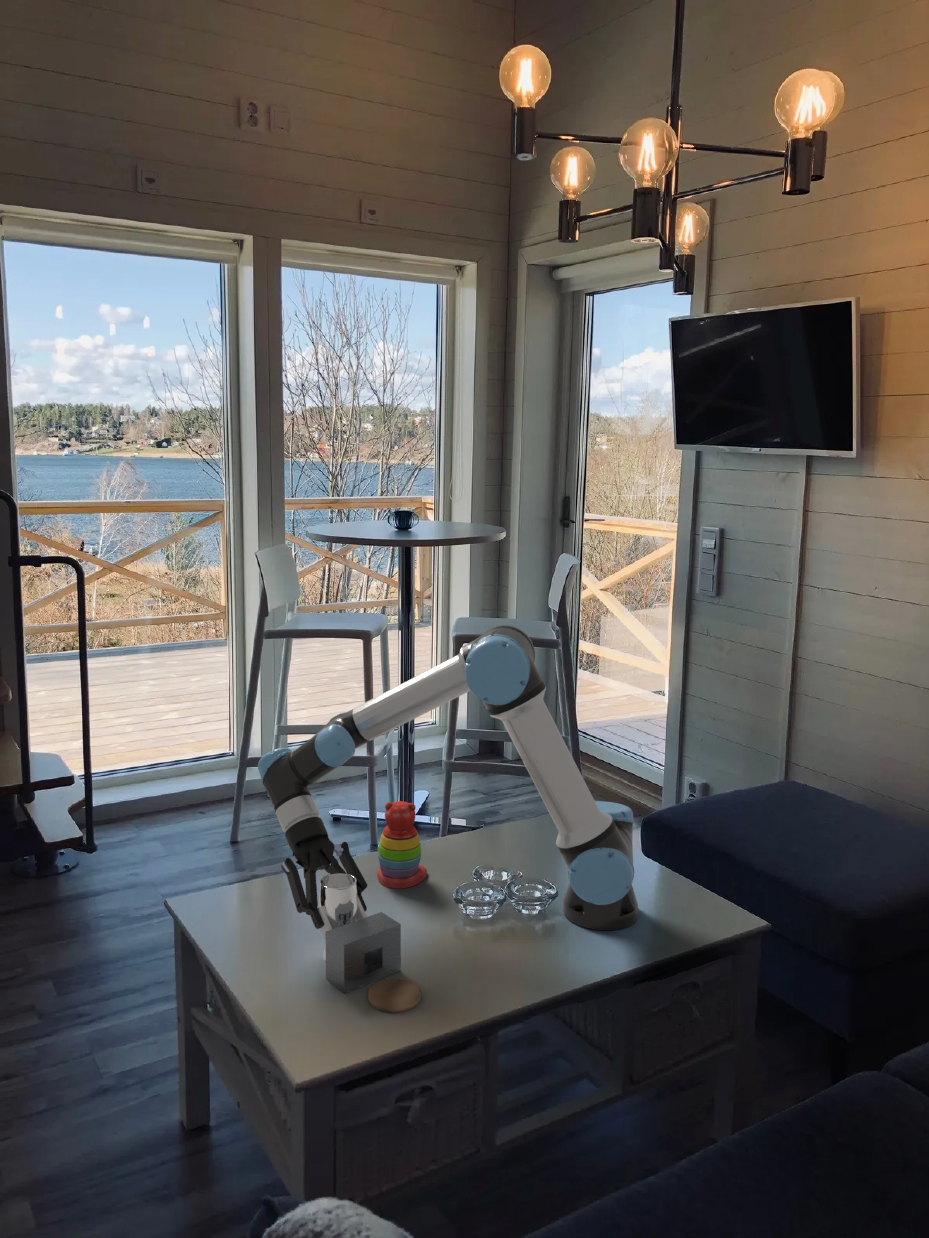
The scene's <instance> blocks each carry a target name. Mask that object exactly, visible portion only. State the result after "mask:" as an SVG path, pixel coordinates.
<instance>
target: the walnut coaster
mask: <svg viewBox="0 0 929 1238" xmlns="http://www.w3.org/2000/svg"><path fill="white" fill-rule="evenodd" d="M421 992H422V991H421V988H420V986H419V985H418V984H417V983H415V982H414V981H412V980H409V979H406V978H397V977H395V978H386V979H382V980H379V981H377V982H375V983H373V985H371V986H370V987H369V989H368V992H367V993H368V995H367V997H368V998H367V999H368V1003H369V1004H370V1006H371V1007H372V1008H374V1009H376V1010H377V1011H380V1012H385V1013H391V1014H392V1013H393V1014H396V1013H402V1012H407V1011H410V1010H412V1009H413V1008H415V1007H416V1006H418V1005H419V1004H420V1001H421V1000H422V999H421V998H422V993H421Z"/></svg>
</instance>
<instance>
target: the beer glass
mask: <svg viewBox="0 0 929 1238" xmlns="http://www.w3.org/2000/svg"><path fill="white" fill-rule="evenodd" d="M356 881H357V880H356V878H355V877H354V876H352V875H350V874H345V873H335V874H330V873H329V874H328V875H326V876H325V875H324V876H323V877H322V878H321V879H320V885H319V887H320V888H319V907H321V906H322V907H323V909H324V911H325V913H326V915H327V918H328V920H329V923H330V925H331V927H332V929H335V928H337V927H340V926H343V925H346V924H349V923H351V922H354V921H356V917H357V909H358V894H357V883H356ZM322 959H323V961H324V963H326V942H325V941H324V946H323V950H322Z"/></svg>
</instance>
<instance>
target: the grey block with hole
mask: <svg viewBox="0 0 929 1238" xmlns="http://www.w3.org/2000/svg"><path fill="white" fill-rule="evenodd" d="M401 928H402V927H401V923H399V921H397V920H395V919H393V918H392V917H390V915H389V916H388V915H387V914H386V913H384V912H383V911H381V912H377V913H375V914H372V915H369V916H367V917H366V918H363V919H360V920H357V921H354V922H351V923H349V924H346V925H343V926H340V927H337V928H335V929H332V930H329V931H326V932H325V939H324V942H325V941H326V962H325V979H326V980H327V981H328V982H329V983H330V984H332V985H333V986H334V987H336V988H337V989H338V990H339V991H341V992H342V993H343V994H347V993H349V992H351V991H354V990H357V989H359V988H361V987H364V986H366V985H369V984H371V983H373V982H376V981H378V980H379V981H380V980H381V979H383V978H386V977H388V976H391V975H393V974H396V973H398V972H400V971H401V970H402V968H401V967H402V966H401V965H402V963H401V962H402V960H401V959H402V957H401V956H402V954H401V953H402V952H401V950H402V946H401V944H402V943H401V941H402V939H401V938H402V937H401V936H402V935H401V933H402V930H401Z"/></svg>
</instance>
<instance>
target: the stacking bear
mask: <svg viewBox="0 0 929 1238" xmlns="http://www.w3.org/2000/svg"><path fill="white" fill-rule="evenodd" d="M416 807H417V806H416V805H415V804H414V803H413V802H407V801H401V800H397V801H393V802H391V801H388V802H386V804H385V806H384V809H385V812H384V820H385V823H386V826H385V827H384V829H383V830H382V833H381V834H380V839H379V843H378V847H377V848H378V850H377V856H378V862H379V867H378V870H377V874H376V875H377V879H378V881H379V883H381V885H383V886H384V887H387V888H391V889H392V888H393V889H407V888H411V887H413V886H416V885H418V884H420V883H421V882H422V881H423V880H425V878H426V877H427V874H428V870H427V867H425V866H424V865H421V864H420V862H421V859H422V845H421V842H420V841H421V840H420V835H419V833H418V830H417V829H416V827H415V826H414V824H415V820H416Z"/></svg>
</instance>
